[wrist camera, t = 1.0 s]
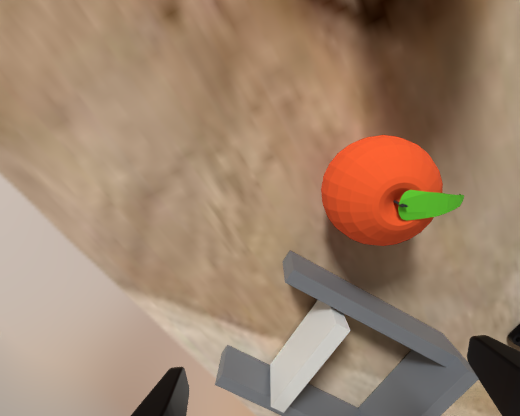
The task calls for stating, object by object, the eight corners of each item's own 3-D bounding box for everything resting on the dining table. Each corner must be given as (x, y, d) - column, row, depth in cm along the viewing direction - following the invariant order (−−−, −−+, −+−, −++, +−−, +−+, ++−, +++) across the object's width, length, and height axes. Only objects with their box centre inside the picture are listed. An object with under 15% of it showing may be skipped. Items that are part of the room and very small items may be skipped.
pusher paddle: (336, 296, 23) (350, 330, 19) (281, 369, 25) (283, 412, 21) (324, 290, 22) (336, 323, 19) (270, 364, 25) (270, 406, 21)
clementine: (425, 133, 19) (514, 133, 12) (412, 223, 21) (483, 267, 14) (314, 135, 19) (340, 137, 12) (311, 224, 21) (332, 268, 14)
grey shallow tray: (442, 333, 24) (480, 377, 19) (361, 420, 27) (378, 474, 22) (290, 250, 22) (295, 278, 18) (221, 353, 25) (212, 398, 21)
